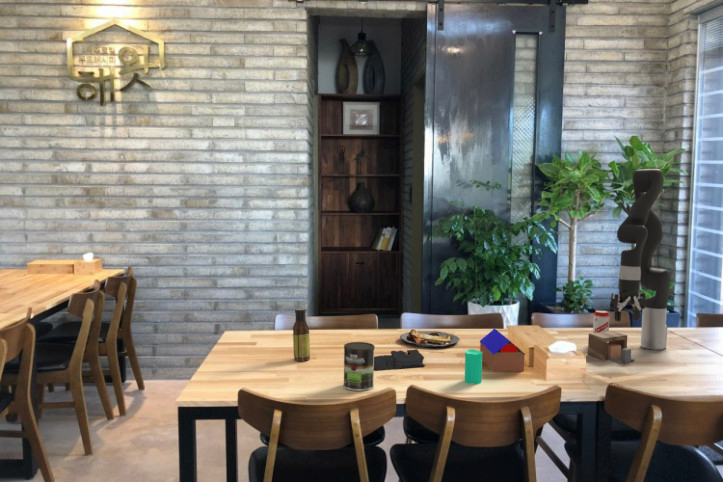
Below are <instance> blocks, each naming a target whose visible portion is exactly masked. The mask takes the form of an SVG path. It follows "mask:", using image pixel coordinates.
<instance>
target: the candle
mask: <svg viewBox="0 0 723 482" xmlns="http://www.w3.org/2000/svg"><path fill="white" fill-rule="evenodd" d="M464 353H465V354H464V355H465V356H464V382H465V383H467V384H471V385H472V384H473V385H478V384H482V381H483V380H482V378H483V377H482V375H483V360H482V352H481V351H480V350H477V349H475V348H472V349H471V348H470V349H466V350H465V351H464Z"/></svg>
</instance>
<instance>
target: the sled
mask: <svg viewBox="0 0 723 482" xmlns="http://www.w3.org/2000/svg"><path fill="white" fill-rule="evenodd" d="M606 360H609V361H611V362H613V363H616V364H619V365H624V364H629V363H631V364H632V363H635V359H634V358H632V349H631V348H628V347H627V348H625V349H621V358H618V359H614V358H611V357H608V356H606Z"/></svg>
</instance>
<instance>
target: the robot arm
mask: <svg viewBox="0 0 723 482" xmlns="http://www.w3.org/2000/svg"><path fill="white" fill-rule="evenodd" d="M631 180H632V189H633V195H634V202H633V203H632V205H631V206H630V208H629V212H628V214H627V217H626V218H625V219H624V221H622V222H621V224H620V225H619V227H618V228H617V231H616V239H617V240H618V241H619V242H621V243H622V244H632V245H633V244H634V245H635V247H633V248H630V249H629V248H628V249H624V250H622V251H621V252H620V253H621V254H620V267H619V270H618V271H619V272H618V285H617V290H618V291H619V292H618V293H614V292H613V293H611V297H610V305H609V306H610V307H609V308H610V309H611V310H614V317H613V318H614V321H616V322H621V319H622V310H623V308H625V307H626V306H629V305H630V306H632V308H633V314H632V315H633V317H632V318H633V321H639V320H640V317H641V331H640V332H641V333H640V335H641V336H640V347H641V348H643V349H648V350H655V351H658V350H659V351H660V350H665V348H666V349H667V338H668V325H667V310H668V309H667V308H668V303H669V297H670V285H671V274H670V272H669V271H668V270H667V269H663V268H656V267H655V268H654V267H653V264H652V263H653V257H654V254H655V252H656V251H657V249H658V247H659V246H660V244H662V241H663V224H662V221H661V219H660V218H659V216H658V214H657V213H656V212H655V211H654V210H653V209H652V207H653V206H654V204H655V202H656V200H657V199H658V198H659V195H660V194H661V192H662V190H663V187H664V181H665V180H664V173H663V171H662V170H661V169H658V168H645V169H636V170H634V172H633V173H632V179H631ZM641 288H642V289H643V290H649V291H653V292H655V295H653V296H651V297H647V298H646V293H645V292H639V291H640V289H641ZM641 311H642V315H641Z"/></svg>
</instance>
